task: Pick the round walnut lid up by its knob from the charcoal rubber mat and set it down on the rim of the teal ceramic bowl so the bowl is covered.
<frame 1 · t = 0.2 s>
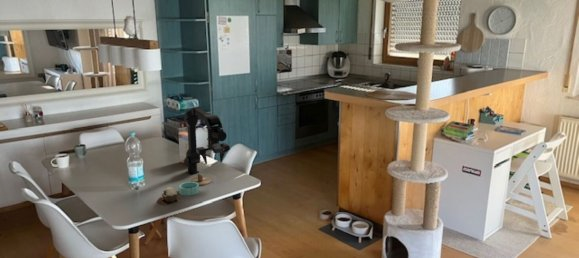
hand: (213, 162, 253), 14 cm above the table, fingers open, 9 cm apart
mat: (200, 182, 260), on the table
skull: (169, 201, 236), on the table
lid: (200, 178, 259), on the mat
cracker box: (188, 163, 293), on the table
bowl: (189, 192, 247), on the table
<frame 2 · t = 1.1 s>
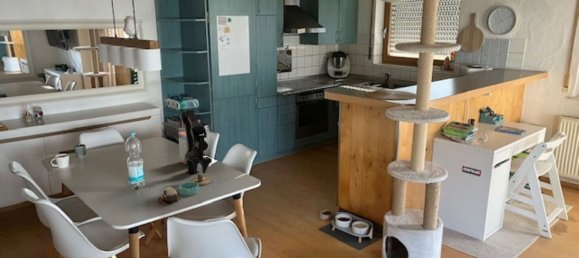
hand: (199, 171, 258), 7 cm above the table, fingers open, 9 cm apart
nothing on the table moved.
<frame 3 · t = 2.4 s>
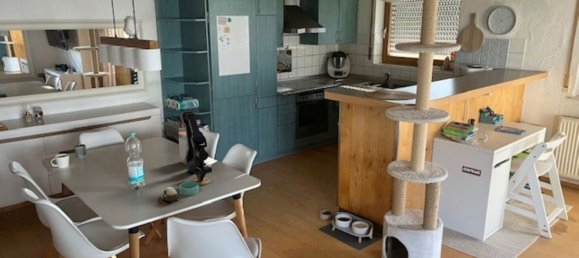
hand: (200, 180, 260), 2 cm above the table, fingers closed on lid, 3 cm apart
lid: (200, 178, 259), on the mat, touching gripper
everything else where it was.
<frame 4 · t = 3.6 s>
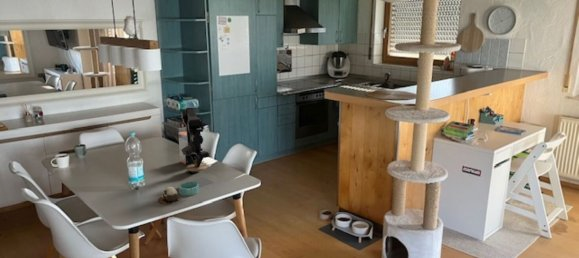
hand: (197, 166, 253), 12 cm above the table, fingers closed on lid, 3 cm apart
lid: (196, 164, 253), point 13 cm above the table, touching gripper
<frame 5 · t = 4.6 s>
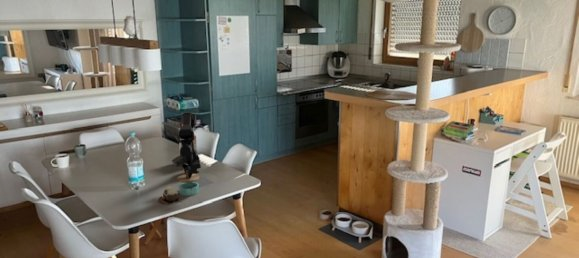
hand: (188, 176, 244), 9 cm above the table, fingers closed on lid, 3 cm apart
lid: (188, 174, 244), point 10 cm above the table, touching gripper
when the fingers open (7 cm above the table, at t = 5.2 s): lid drops 1 cm, resting on bowl.
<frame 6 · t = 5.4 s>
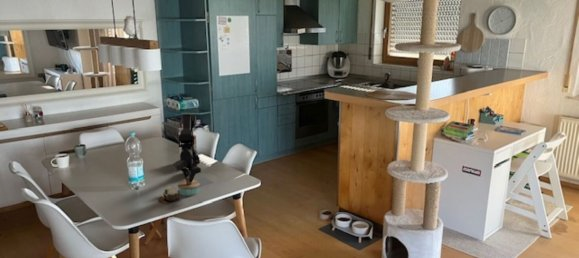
hand: (188, 181, 245), 7 cm above the table, fingers open, 5 cm apart
lid: (188, 181, 245), on the bowl, point 6 cm above the table
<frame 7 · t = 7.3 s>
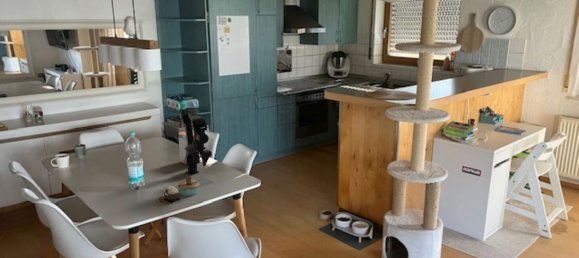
hand: (200, 164, 257), 12 cm above the table, fingers open, 9 cm apart
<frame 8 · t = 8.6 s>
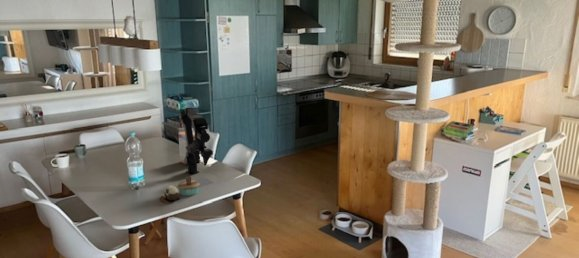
hand: (200, 163, 258), 12 cm above the table, fingers open, 9 cm apart
at the end: lid 0.1 cm from the bowl (horizontally); lid point 6.4 cm above the table; lid tilted 0° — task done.
